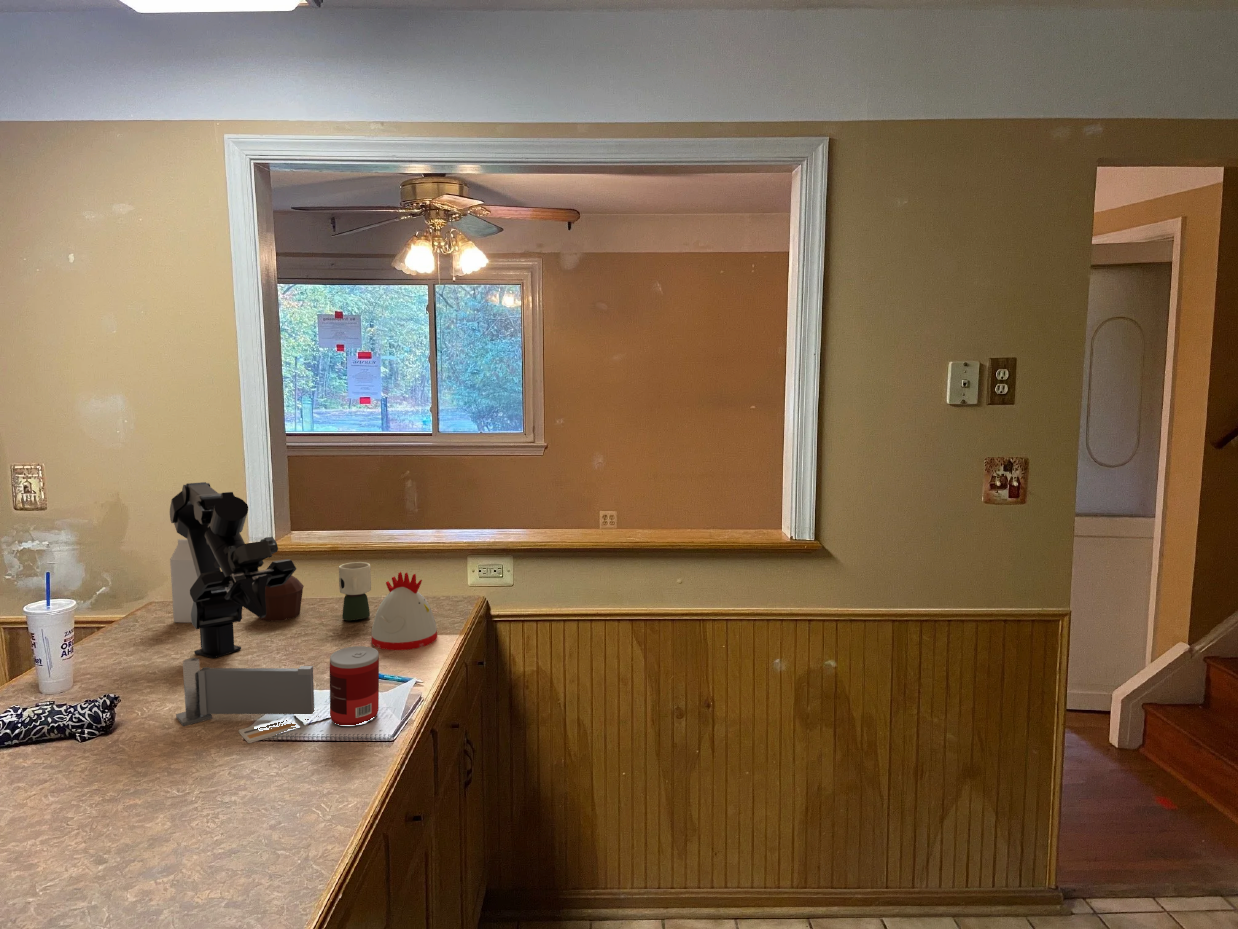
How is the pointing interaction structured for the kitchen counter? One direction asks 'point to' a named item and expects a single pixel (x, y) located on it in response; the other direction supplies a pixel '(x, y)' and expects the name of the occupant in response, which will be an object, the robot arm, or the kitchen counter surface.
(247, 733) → the label plate beige
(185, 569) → the milk carton
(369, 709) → the canned food
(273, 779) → the kitchen counter surface
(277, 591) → the muffin
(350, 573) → the character mug
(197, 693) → the hinge post
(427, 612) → the kitchen timer
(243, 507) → the robot arm
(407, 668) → the kitchen counter surface
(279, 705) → the hinge panel
